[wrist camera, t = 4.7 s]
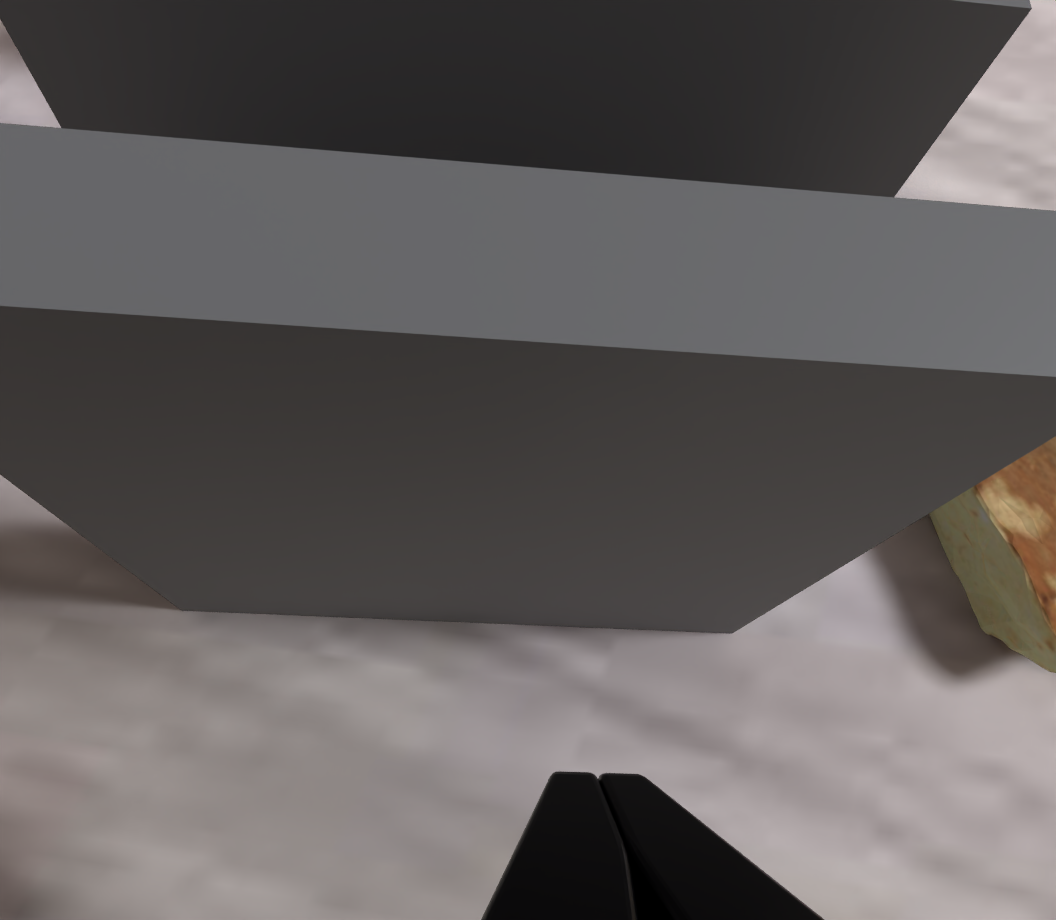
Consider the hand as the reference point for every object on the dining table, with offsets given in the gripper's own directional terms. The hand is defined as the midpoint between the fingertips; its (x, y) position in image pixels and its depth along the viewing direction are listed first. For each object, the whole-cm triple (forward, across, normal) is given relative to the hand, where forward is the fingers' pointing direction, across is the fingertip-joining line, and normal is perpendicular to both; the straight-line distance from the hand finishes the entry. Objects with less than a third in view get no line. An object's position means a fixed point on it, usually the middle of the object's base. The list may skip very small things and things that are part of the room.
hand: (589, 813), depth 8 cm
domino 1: (+8, -1, -2) cm, 8 cm away
